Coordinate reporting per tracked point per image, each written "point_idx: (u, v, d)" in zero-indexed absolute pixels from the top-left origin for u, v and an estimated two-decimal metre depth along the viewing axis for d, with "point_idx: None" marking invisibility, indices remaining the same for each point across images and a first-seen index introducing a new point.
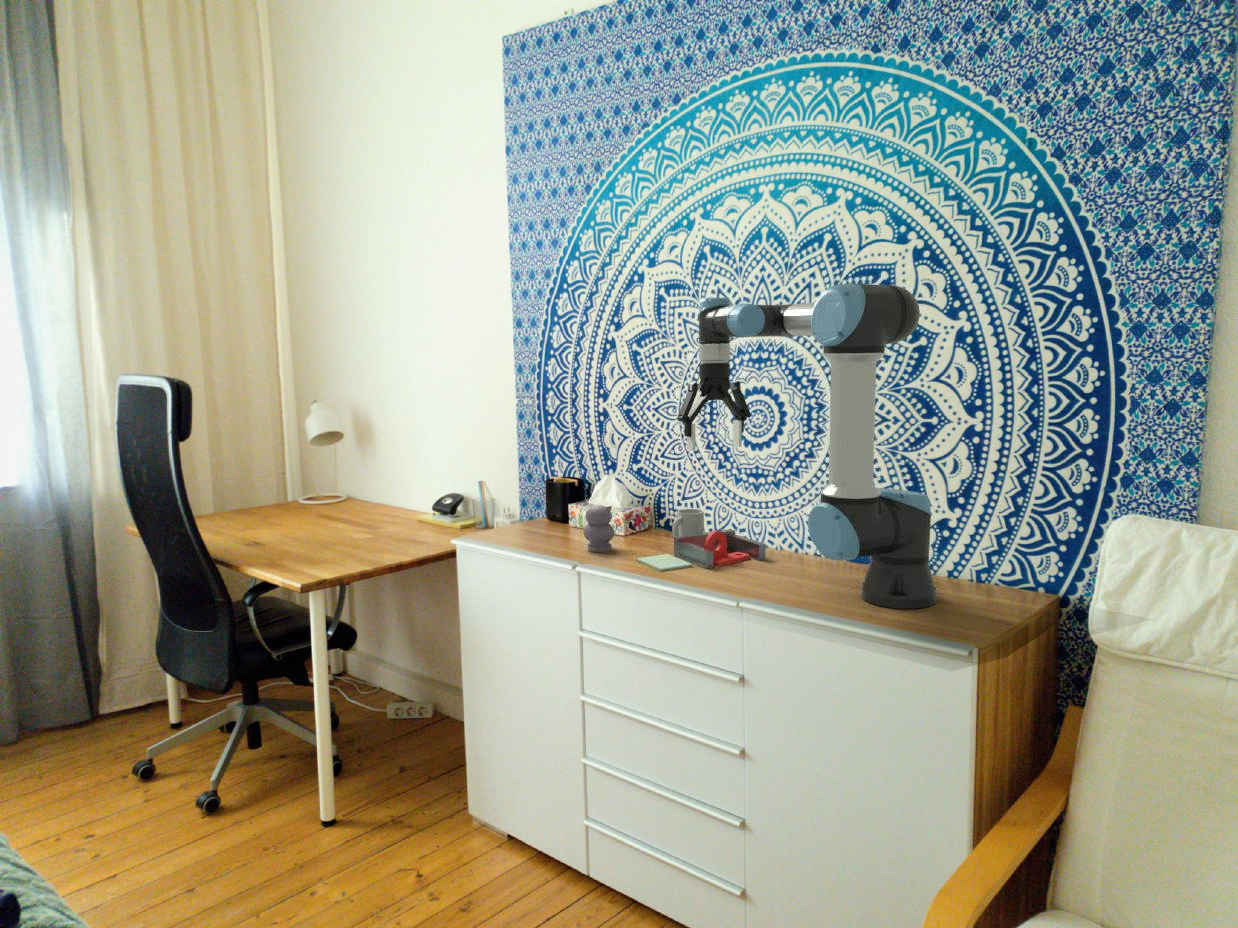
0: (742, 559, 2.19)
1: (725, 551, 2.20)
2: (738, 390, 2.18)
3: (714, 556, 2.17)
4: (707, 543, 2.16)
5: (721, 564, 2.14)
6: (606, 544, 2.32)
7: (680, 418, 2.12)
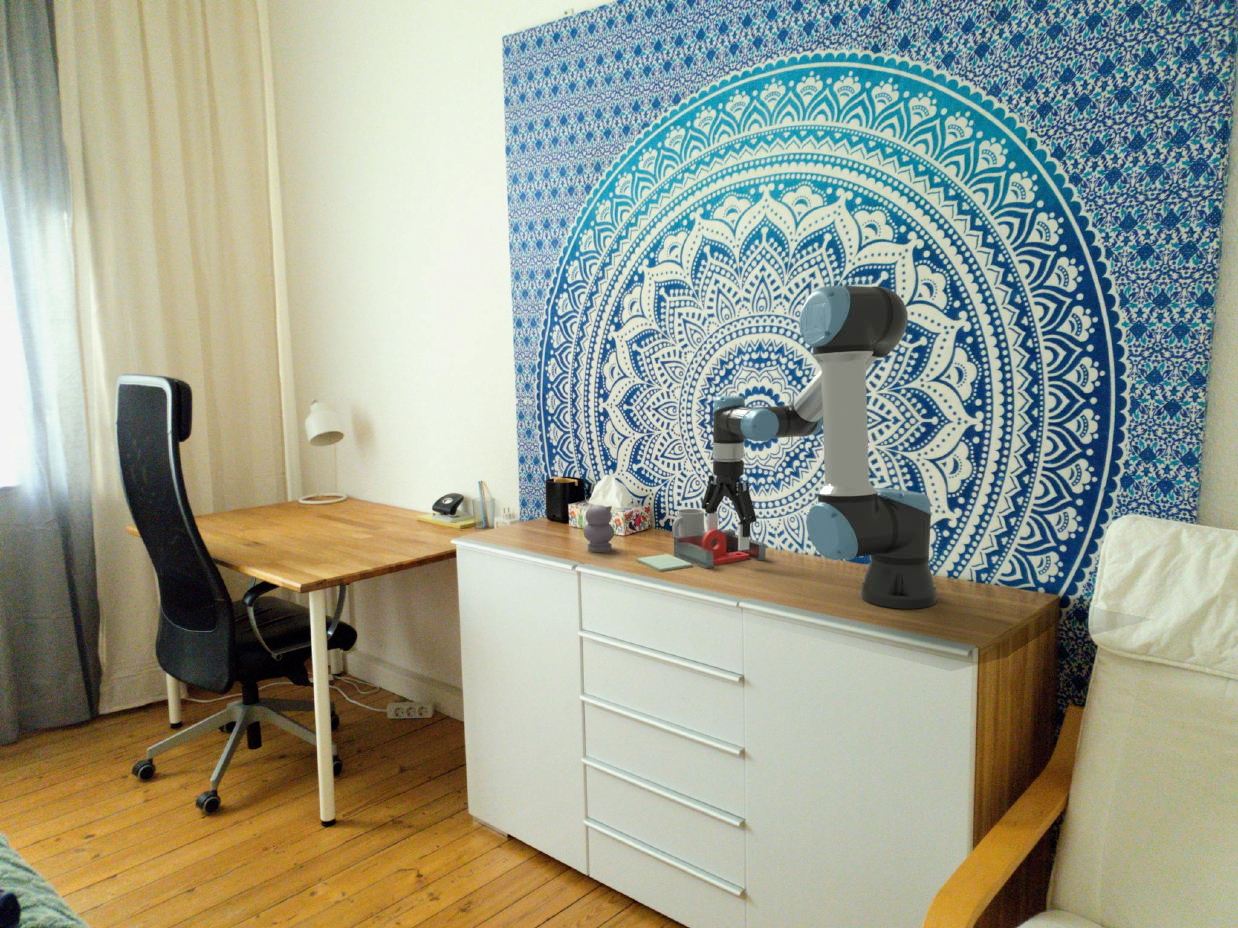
0: (741, 558, 2.19)
1: (724, 550, 2.21)
2: (739, 492, 2.10)
3: None
4: (704, 541, 2.17)
5: (717, 563, 2.15)
6: (606, 544, 2.32)
7: None
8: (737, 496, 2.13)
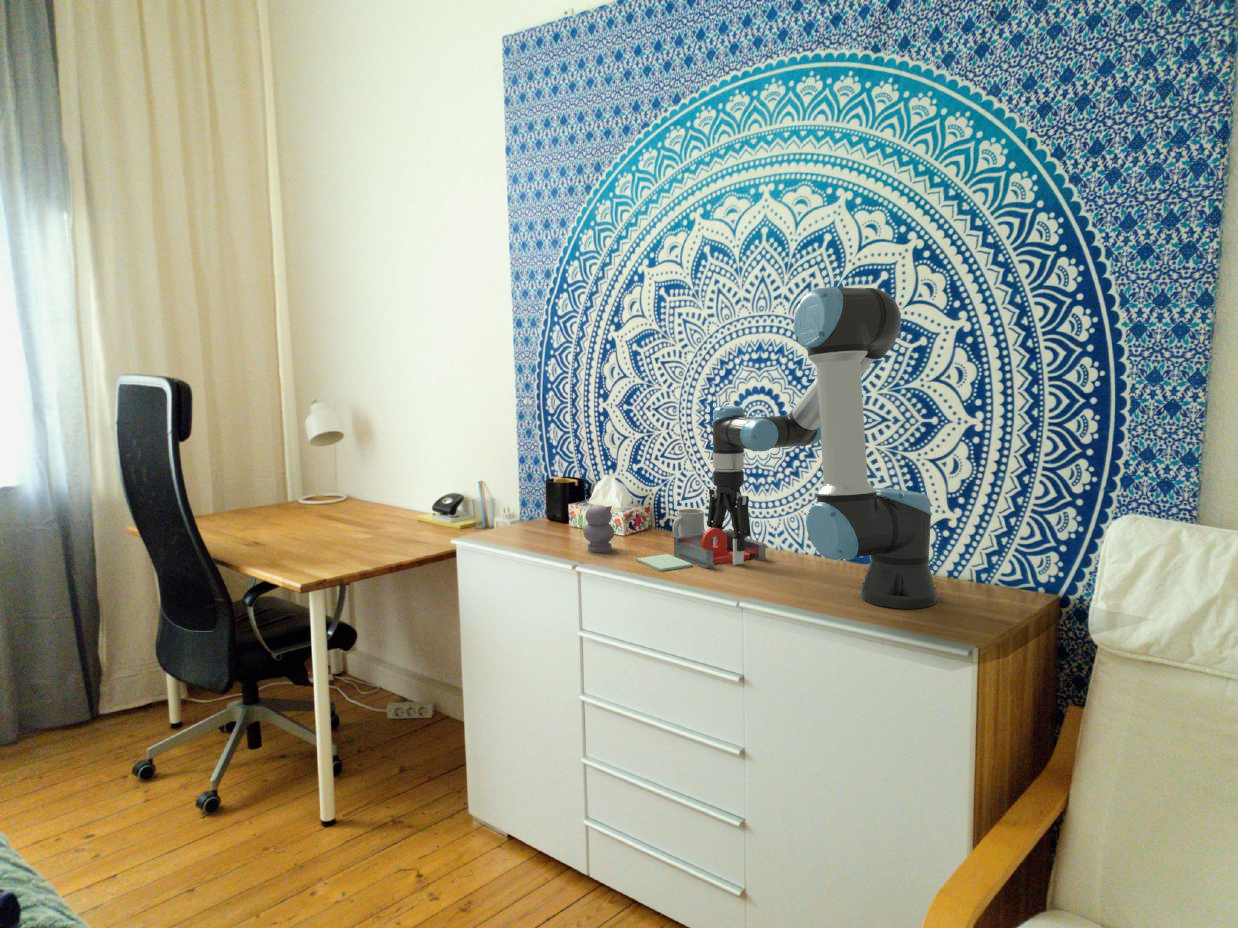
0: None
1: (725, 549, 2.21)
2: (738, 505, 2.11)
3: None
4: (703, 540, 2.19)
5: (715, 561, 2.16)
6: (606, 544, 2.32)
7: None
8: (735, 508, 2.14)
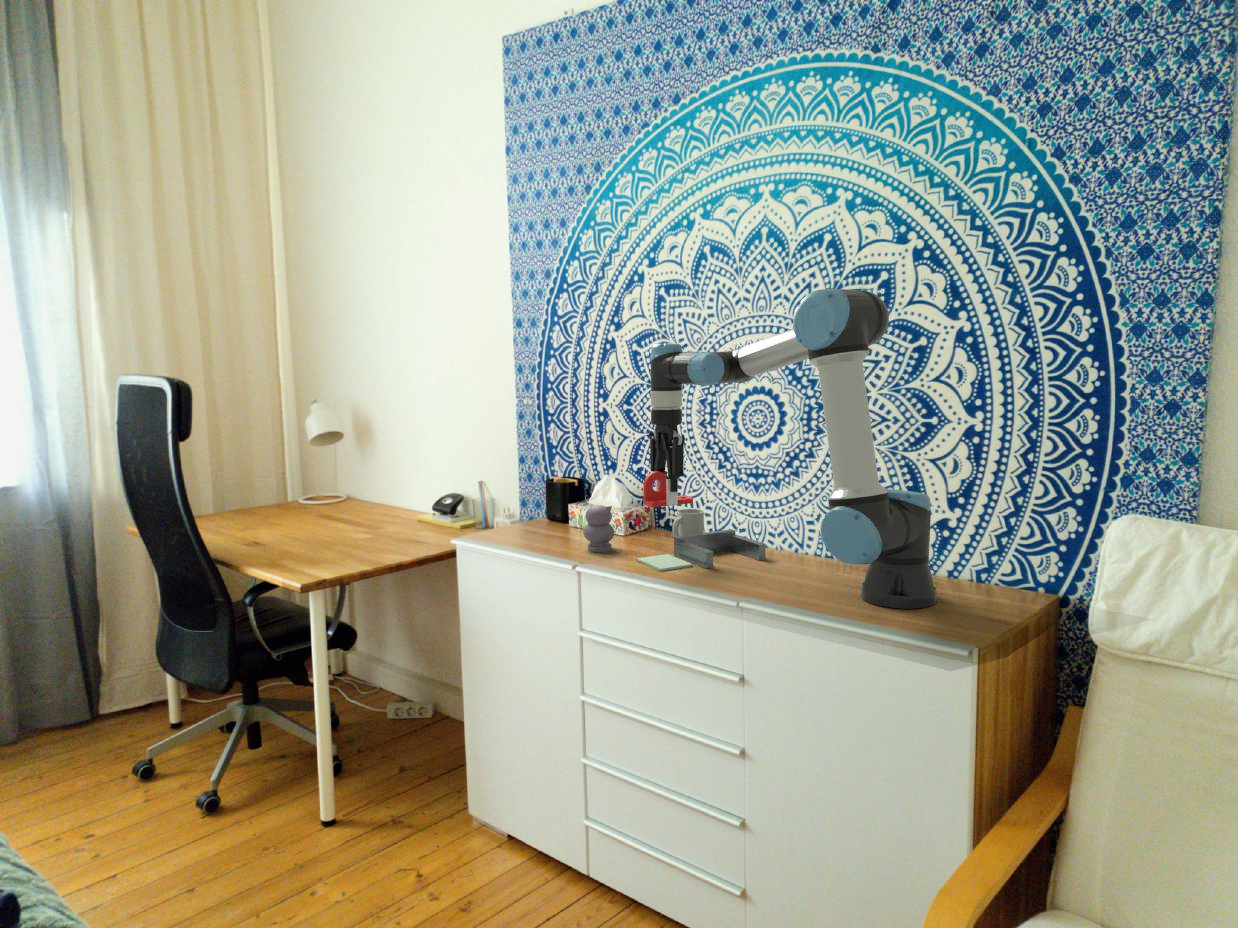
0: (683, 502, 2.15)
1: None
2: (673, 445, 2.08)
3: (653, 497, 2.15)
4: (645, 483, 2.14)
5: (656, 505, 2.12)
6: (606, 544, 2.32)
7: None
8: (672, 448, 2.11)
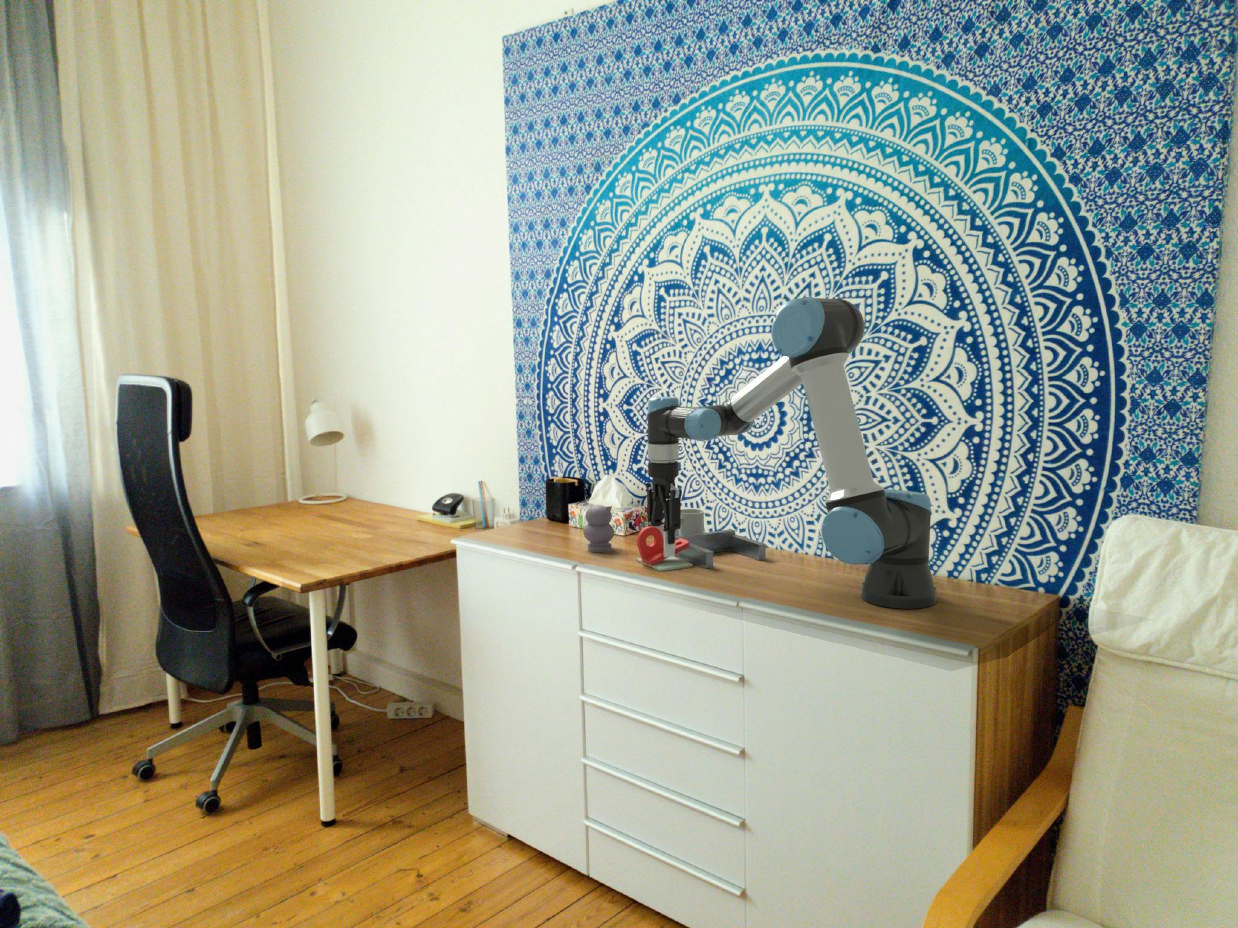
0: (680, 549, 2.16)
1: (663, 543, 2.18)
2: (670, 498, 2.10)
3: (650, 552, 2.17)
4: (638, 543, 2.15)
5: (655, 561, 2.13)
6: (606, 544, 2.32)
7: None
8: (669, 501, 2.13)
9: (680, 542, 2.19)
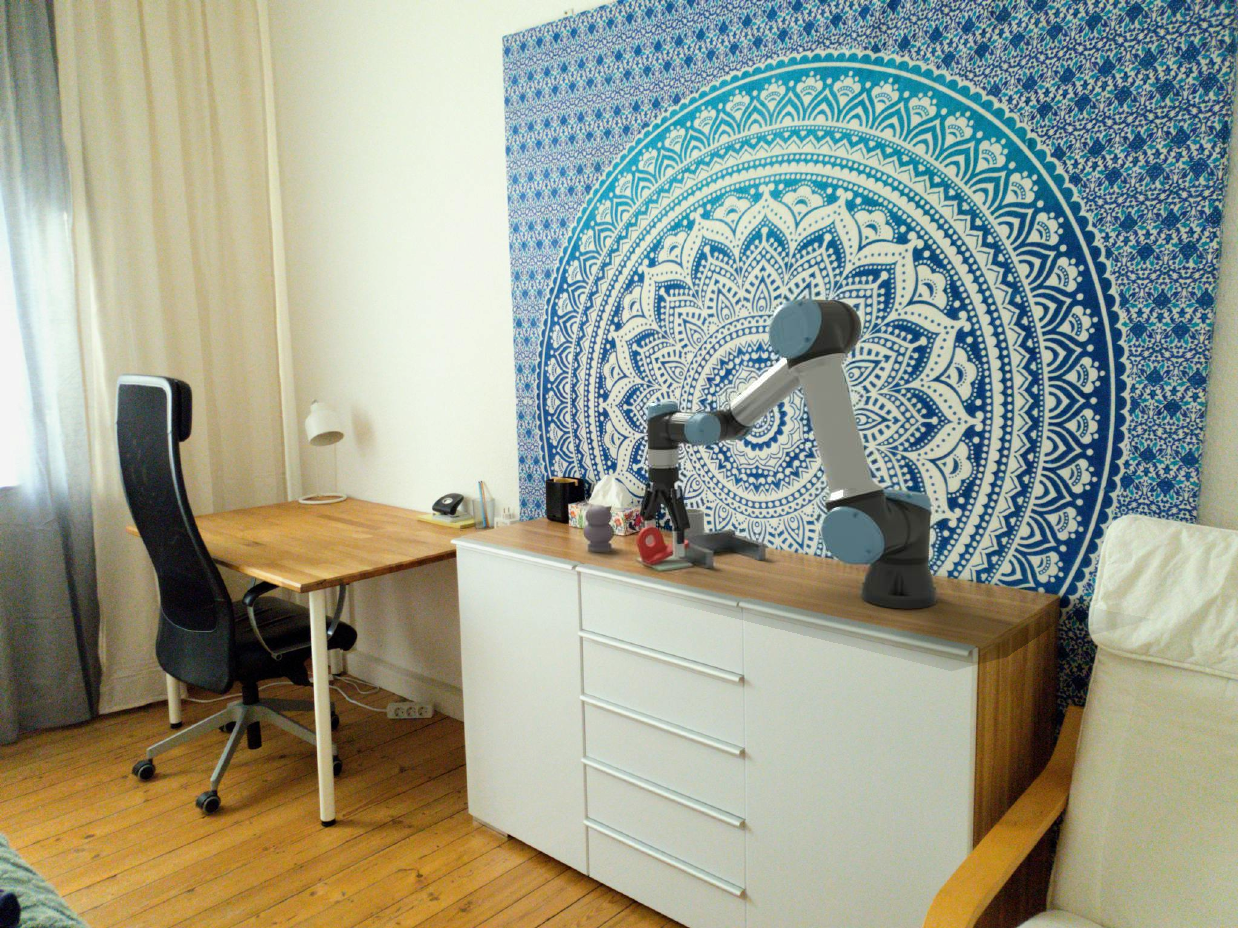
0: None
1: (663, 544, 2.18)
2: (673, 498, 2.09)
3: (650, 552, 2.17)
4: (638, 543, 2.15)
5: (655, 561, 2.13)
6: (606, 544, 2.32)
7: None
8: (672, 503, 2.12)
9: None
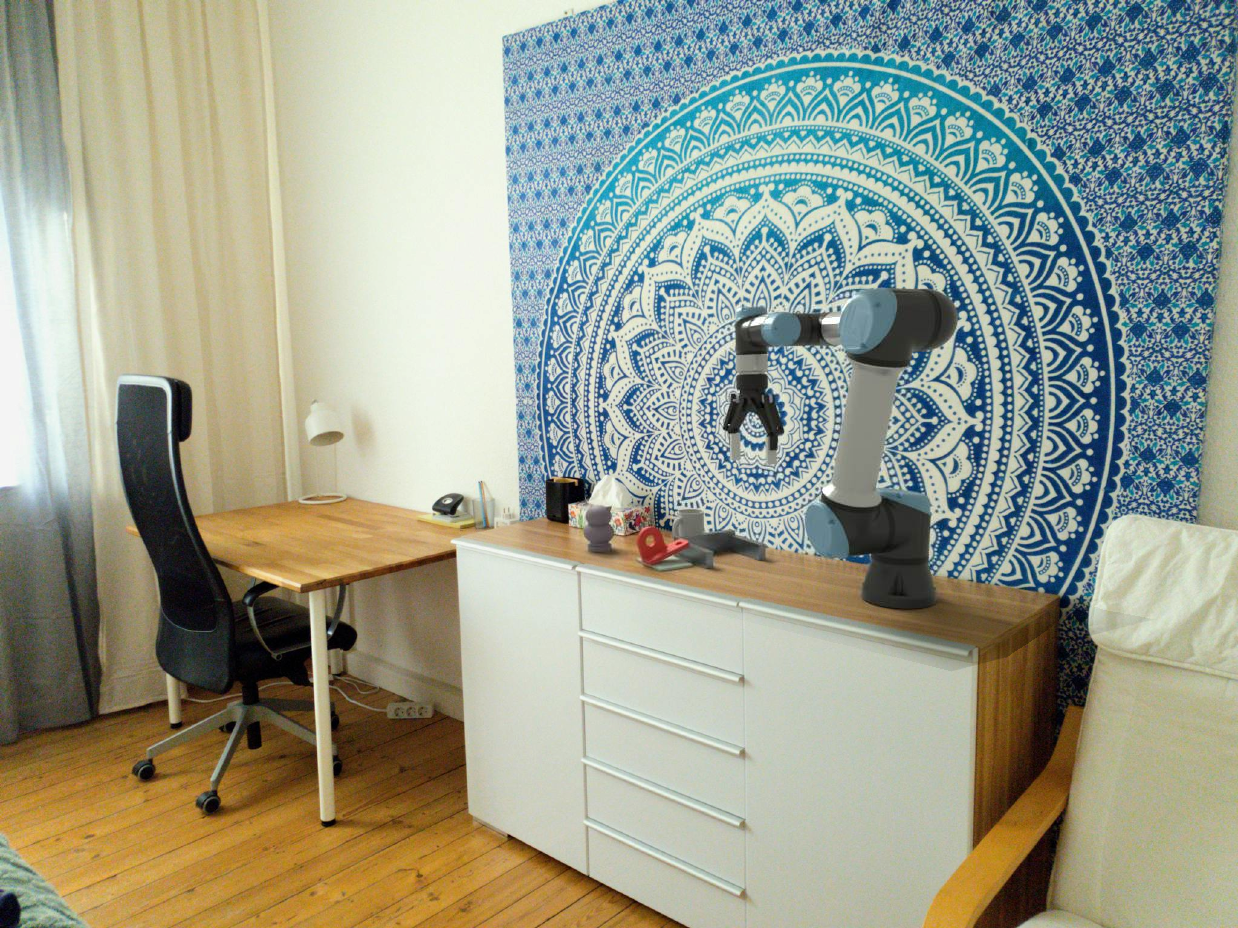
0: (680, 549, 2.16)
1: (663, 544, 2.18)
2: (765, 404, 2.03)
3: (650, 552, 2.17)
4: (638, 543, 2.15)
5: (655, 561, 2.13)
6: (606, 544, 2.32)
7: None
8: (762, 410, 2.06)
9: (680, 542, 2.19)
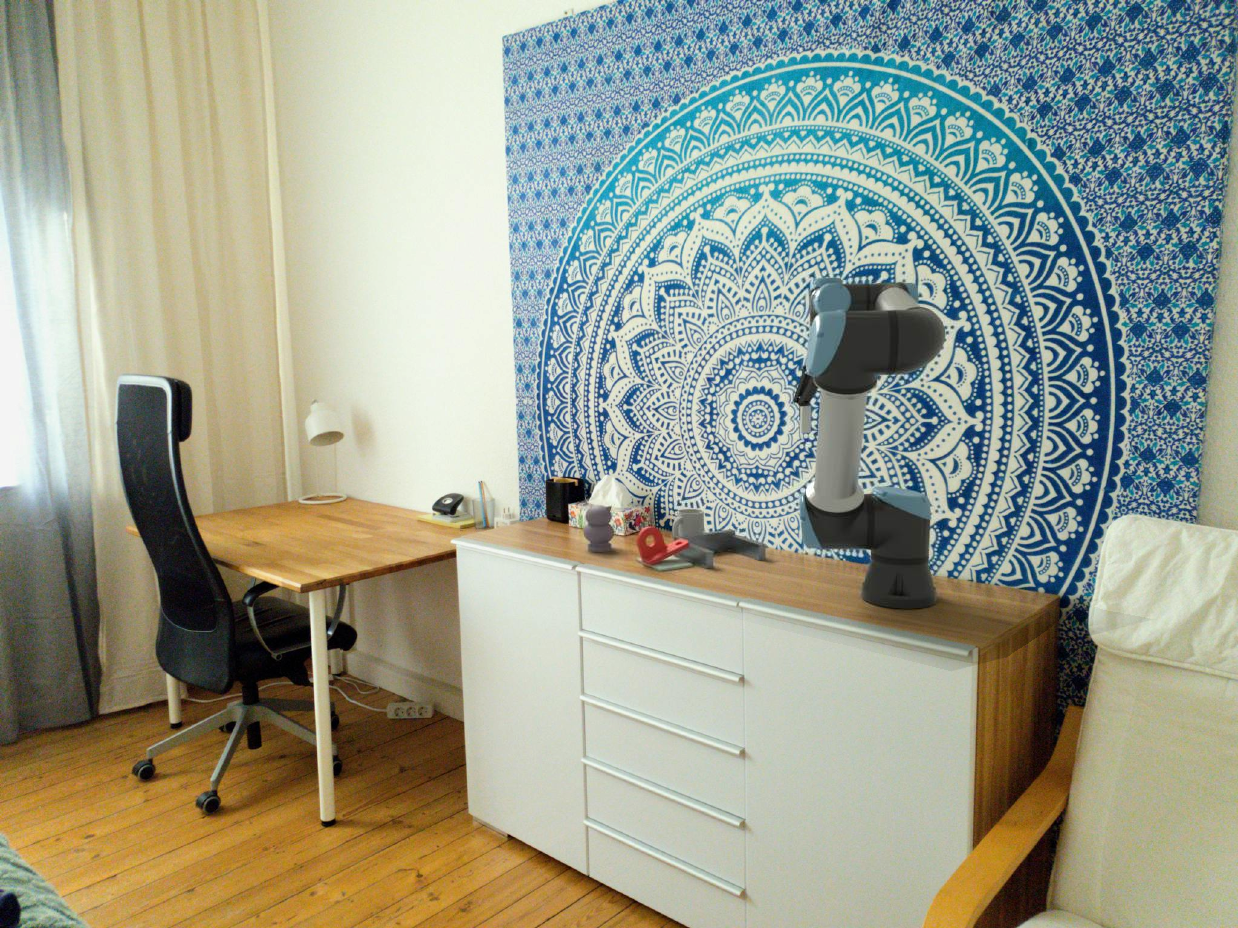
0: (680, 549, 2.16)
1: (663, 544, 2.18)
2: None
3: (650, 552, 2.17)
4: (638, 543, 2.15)
5: (655, 561, 2.13)
6: (606, 544, 2.32)
7: None
8: None
9: (680, 542, 2.19)
